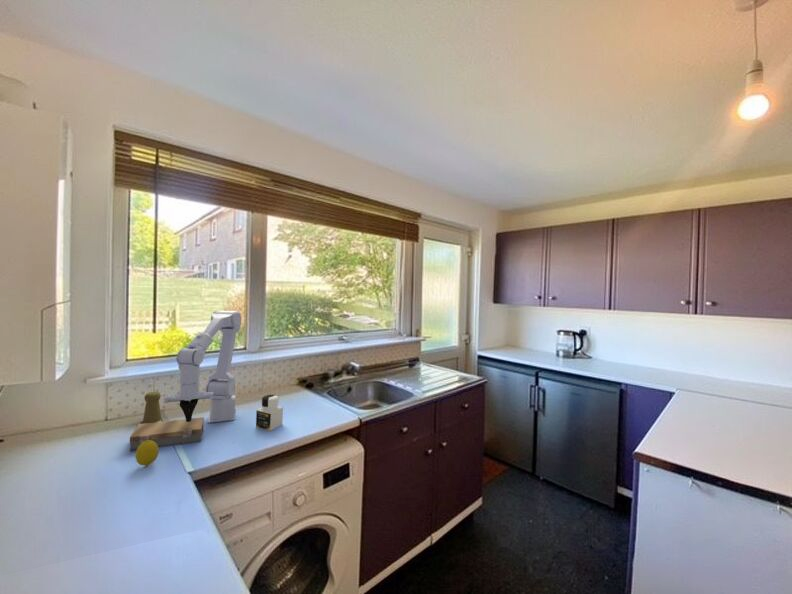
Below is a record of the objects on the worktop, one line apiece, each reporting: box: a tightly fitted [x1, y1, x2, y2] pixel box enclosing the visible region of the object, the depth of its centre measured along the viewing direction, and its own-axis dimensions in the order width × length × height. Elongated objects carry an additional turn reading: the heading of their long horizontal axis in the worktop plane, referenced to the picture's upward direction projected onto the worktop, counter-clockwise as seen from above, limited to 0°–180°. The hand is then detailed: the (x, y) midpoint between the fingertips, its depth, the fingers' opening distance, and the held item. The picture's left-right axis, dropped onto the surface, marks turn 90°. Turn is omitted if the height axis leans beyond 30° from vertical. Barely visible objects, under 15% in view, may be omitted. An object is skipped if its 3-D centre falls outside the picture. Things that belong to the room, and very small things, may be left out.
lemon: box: [135, 440, 159, 467], centre depth 102 cm, size 6×6×8 cm
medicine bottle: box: [255, 394, 284, 432], centre depth 133 cm, size 7×7×12 cm
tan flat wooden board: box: [129, 417, 205, 443], centre depth 118 cm, size 20×11×2 cm, turn 115°
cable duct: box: [129, 421, 205, 452], centre depth 118 cm, size 20×10×3 cm, turn 115°
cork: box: [142, 391, 162, 424], centre depth 133 cm, size 6×6×11 cm
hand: (188, 420), depth 118 cm, fingers closed
